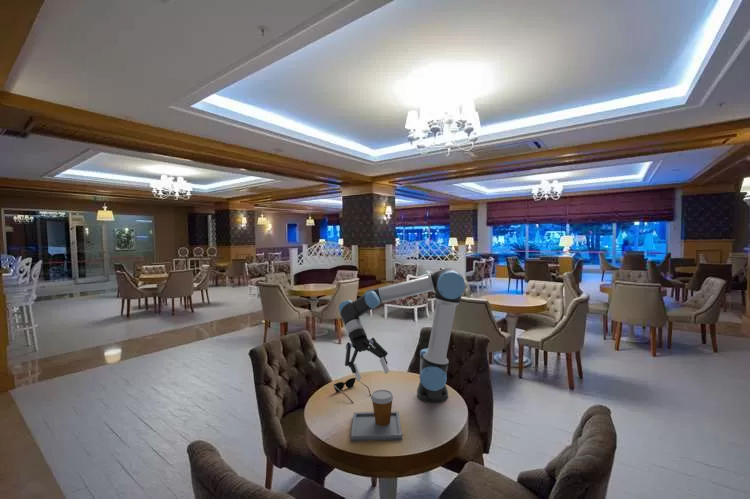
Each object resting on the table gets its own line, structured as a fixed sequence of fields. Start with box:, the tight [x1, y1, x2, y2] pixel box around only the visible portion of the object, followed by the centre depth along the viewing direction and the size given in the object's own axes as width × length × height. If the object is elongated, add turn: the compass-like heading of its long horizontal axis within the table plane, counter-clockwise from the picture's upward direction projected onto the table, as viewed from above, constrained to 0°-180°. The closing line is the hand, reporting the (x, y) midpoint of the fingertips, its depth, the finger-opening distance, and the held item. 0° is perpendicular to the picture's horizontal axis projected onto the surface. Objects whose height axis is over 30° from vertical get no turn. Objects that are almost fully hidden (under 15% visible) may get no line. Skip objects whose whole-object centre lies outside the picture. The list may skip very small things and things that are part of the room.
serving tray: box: [350, 410, 403, 442], centre depth 147 cm, size 20×18×2 cm
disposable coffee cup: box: [370, 389, 394, 426], centre depth 150 cm, size 10×10×12 cm
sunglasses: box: [332, 377, 372, 404], centre depth 179 cm, size 14×16×5 cm
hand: (373, 376), depth 147 cm, fingers open, 13 cm apart
